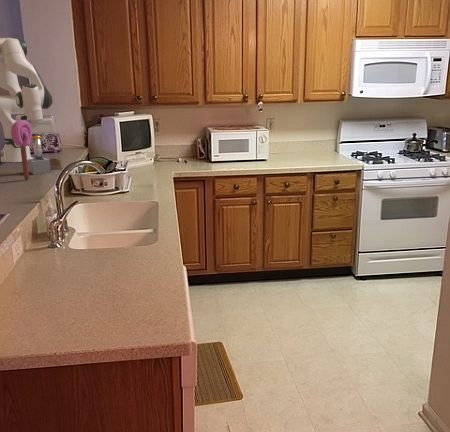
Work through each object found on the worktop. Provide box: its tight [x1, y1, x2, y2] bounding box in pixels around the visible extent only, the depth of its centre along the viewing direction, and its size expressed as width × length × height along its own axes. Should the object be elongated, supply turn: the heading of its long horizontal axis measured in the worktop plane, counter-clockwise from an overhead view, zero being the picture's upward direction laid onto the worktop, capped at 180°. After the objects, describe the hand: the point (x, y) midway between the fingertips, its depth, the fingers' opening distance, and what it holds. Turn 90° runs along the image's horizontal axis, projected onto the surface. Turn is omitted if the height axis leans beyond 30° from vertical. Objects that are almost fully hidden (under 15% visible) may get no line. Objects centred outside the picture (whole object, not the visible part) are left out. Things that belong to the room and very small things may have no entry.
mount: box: [48, 158, 62, 171], centre depth 277 cm, size 7×7×5 cm
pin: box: [31, 135, 44, 159], centre depth 264 cm, size 4×4×12 cm
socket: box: [27, 157, 52, 175], centre depth 267 cm, size 9×9×7 cm
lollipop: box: [11, 120, 33, 181], centre depth 245 cm, size 13×8×30 cm, turn 167°
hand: (36, 142), depth 264 cm, fingers closed on pin, 4 cm apart
